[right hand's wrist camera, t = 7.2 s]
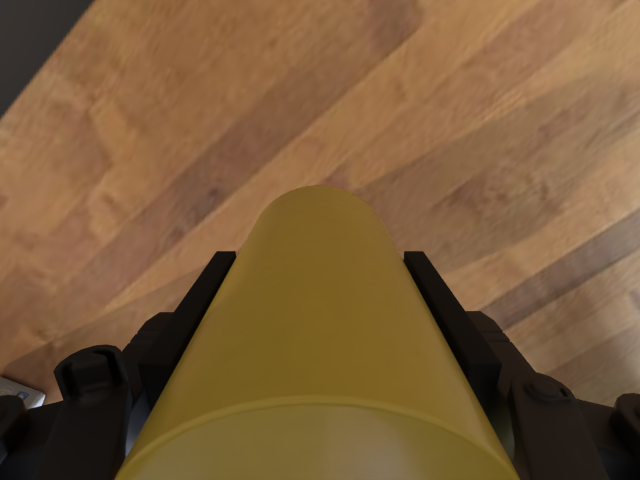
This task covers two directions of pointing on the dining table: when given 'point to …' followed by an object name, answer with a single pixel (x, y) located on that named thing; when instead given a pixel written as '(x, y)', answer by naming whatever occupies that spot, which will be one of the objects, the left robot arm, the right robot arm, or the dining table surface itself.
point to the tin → (318, 365)
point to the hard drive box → (22, 393)
